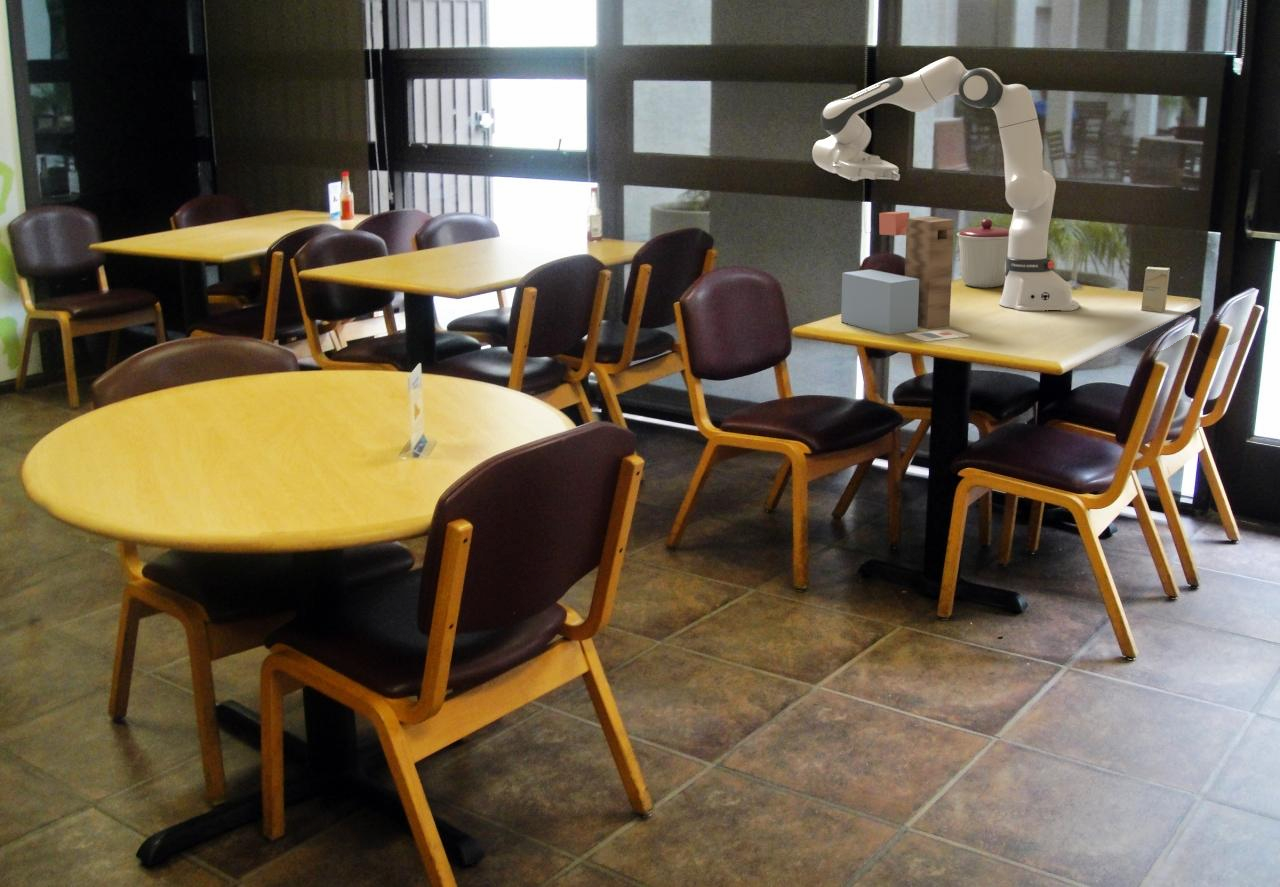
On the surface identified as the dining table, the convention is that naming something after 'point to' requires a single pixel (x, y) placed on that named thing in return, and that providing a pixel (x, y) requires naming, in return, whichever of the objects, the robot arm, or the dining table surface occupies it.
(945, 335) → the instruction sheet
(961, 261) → the canister
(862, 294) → the base block
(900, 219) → the peg brick
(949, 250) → the stand
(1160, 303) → the skincare box
